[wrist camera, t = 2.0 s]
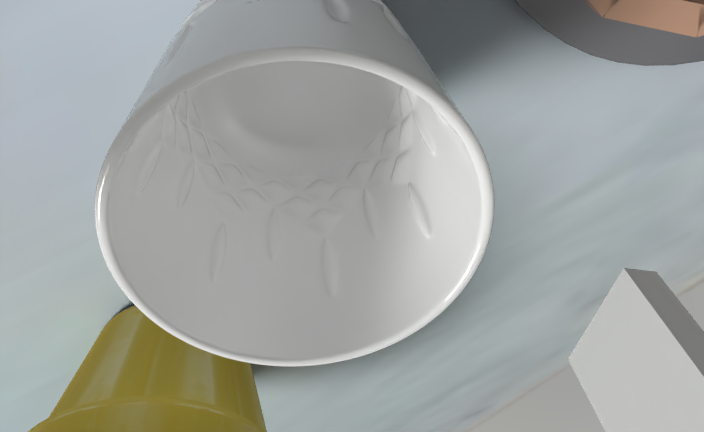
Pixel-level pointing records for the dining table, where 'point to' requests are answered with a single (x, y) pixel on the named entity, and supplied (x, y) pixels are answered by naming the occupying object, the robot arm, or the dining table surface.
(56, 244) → the dining table surface
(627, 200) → the dining table surface
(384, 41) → the white cup
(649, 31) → the trivet
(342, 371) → the dining table surface
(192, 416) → the plant pot
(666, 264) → the dining table surface
